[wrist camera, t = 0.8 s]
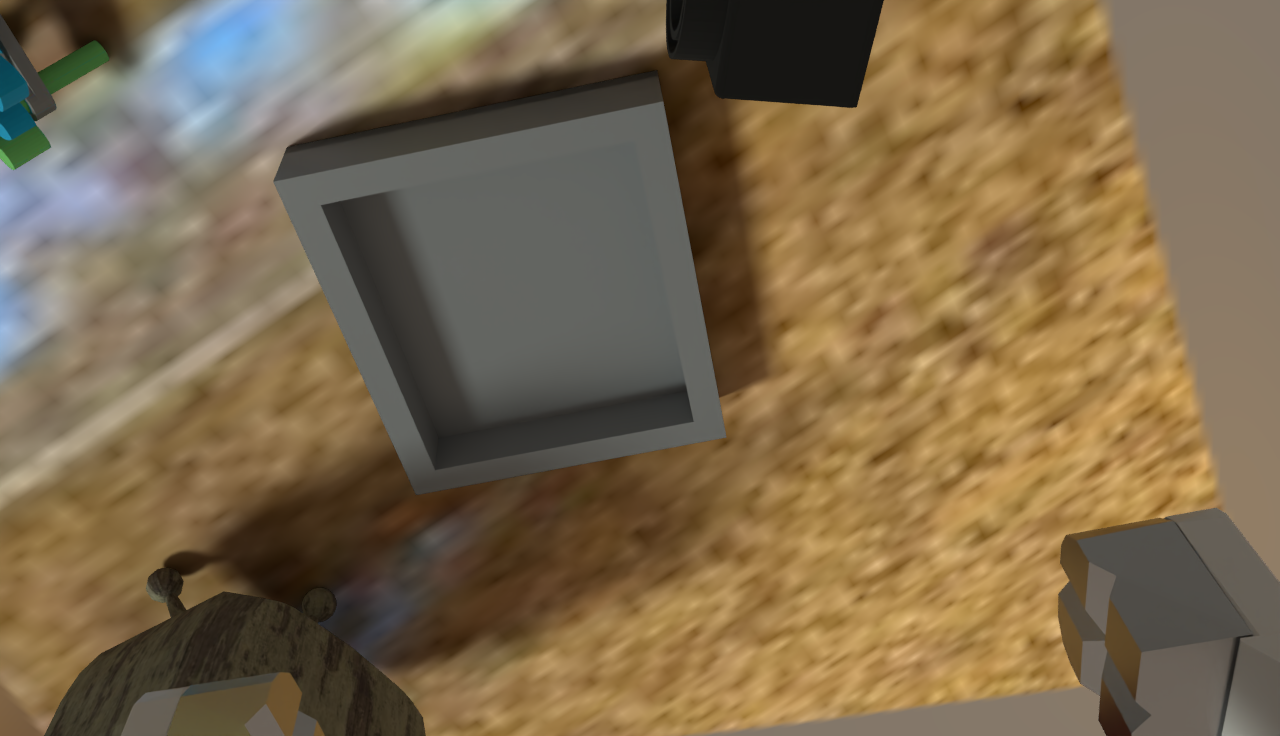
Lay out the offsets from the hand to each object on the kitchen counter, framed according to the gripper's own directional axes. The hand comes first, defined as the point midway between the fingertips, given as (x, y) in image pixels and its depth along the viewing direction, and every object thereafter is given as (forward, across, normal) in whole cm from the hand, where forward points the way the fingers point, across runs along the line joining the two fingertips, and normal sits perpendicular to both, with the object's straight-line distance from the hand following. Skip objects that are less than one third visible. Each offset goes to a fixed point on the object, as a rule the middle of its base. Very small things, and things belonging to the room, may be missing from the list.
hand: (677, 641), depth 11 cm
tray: (+30, +5, +12) cm, 33 cm away
